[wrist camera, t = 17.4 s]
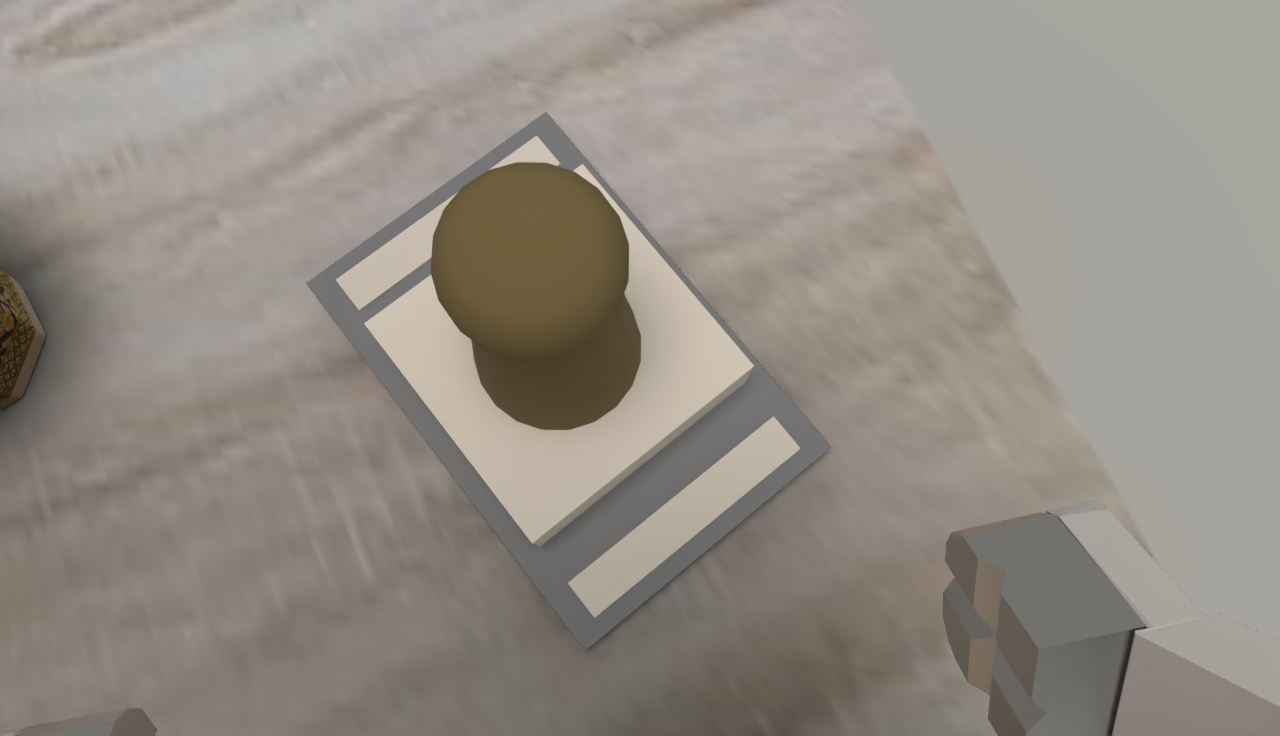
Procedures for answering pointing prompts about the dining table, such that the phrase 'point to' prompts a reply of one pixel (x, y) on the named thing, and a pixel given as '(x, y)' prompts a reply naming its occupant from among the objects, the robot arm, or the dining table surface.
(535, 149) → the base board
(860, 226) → the dining table surface
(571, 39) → the dining table surface
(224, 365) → the dining table surface
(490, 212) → the cork
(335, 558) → the dining table surface
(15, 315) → the ceramic cup
